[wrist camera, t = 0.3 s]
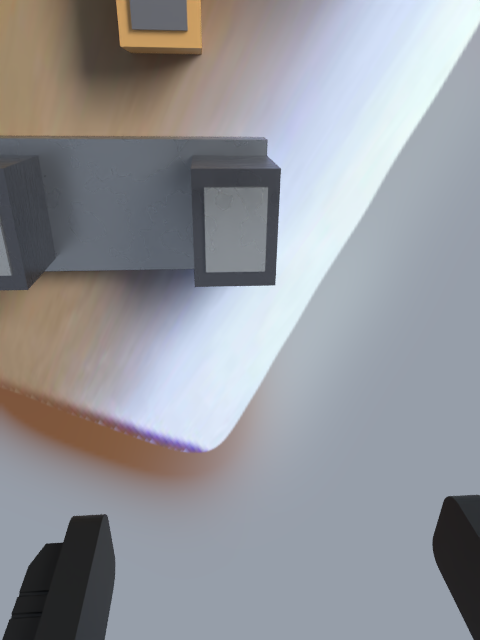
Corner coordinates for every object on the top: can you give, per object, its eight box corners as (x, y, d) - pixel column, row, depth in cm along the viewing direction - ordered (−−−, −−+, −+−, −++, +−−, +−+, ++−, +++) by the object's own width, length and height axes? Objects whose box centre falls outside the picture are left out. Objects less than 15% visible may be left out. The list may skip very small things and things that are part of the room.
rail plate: (-32, 135, 31) (-104, 148, 24) (263, 137, 32) (282, 150, 25) (-2, 262, 35) (-56, 307, 28) (259, 259, 36) (274, 301, 29)
